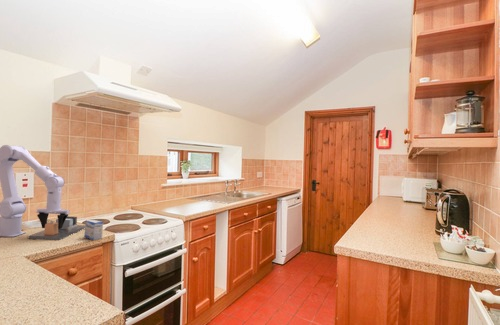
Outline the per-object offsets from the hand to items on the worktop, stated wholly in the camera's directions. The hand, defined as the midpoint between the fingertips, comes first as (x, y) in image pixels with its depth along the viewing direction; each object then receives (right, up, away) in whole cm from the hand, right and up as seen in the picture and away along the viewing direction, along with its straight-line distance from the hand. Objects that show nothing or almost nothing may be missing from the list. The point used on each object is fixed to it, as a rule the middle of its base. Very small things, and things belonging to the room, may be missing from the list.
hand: (52, 228), depth 137 cm
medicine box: (+20, -6, +1) cm, 20 cm away
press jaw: (-1, -3, +13) cm, 13 cm away
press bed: (-1, -4, +7) cm, 8 cm away
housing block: (0, -3, 0) cm, 3 cm away
